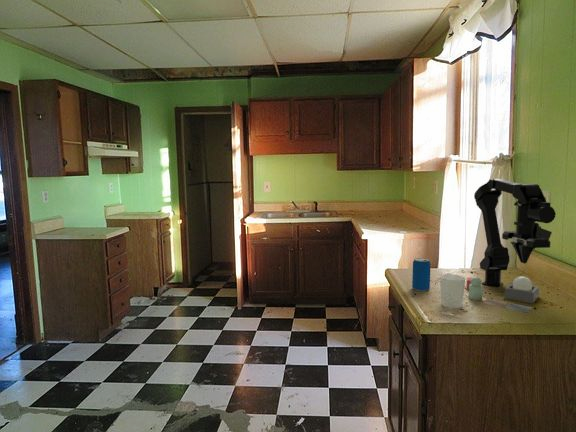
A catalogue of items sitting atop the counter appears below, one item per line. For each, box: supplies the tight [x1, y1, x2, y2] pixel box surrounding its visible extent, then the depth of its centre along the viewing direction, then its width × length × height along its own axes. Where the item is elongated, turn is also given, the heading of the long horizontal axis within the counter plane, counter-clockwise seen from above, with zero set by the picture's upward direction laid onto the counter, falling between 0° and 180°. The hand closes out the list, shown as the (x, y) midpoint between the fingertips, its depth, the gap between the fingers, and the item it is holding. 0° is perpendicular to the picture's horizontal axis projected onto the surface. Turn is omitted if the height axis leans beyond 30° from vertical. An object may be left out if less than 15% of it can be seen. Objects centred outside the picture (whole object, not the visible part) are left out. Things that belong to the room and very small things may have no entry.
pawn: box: [468, 276, 484, 302], centre depth 147 cm, size 4×4×8 cm
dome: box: [512, 275, 533, 292], centre depth 149 cm, size 6×6×6 cm
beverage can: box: [411, 257, 432, 292], centre depth 160 cm, size 6×6×12 cm
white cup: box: [439, 273, 466, 309], centre depth 142 cm, size 8×8×10 cm
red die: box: [466, 277, 473, 291], centre depth 160 cm, size 4×4×4 cm
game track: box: [463, 295, 533, 313], centre depth 143 cm, size 6×20×1 cm, turn 49°
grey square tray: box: [504, 282, 540, 304], centre depth 149 cm, size 9×9×4 cm
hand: (523, 262), depth 148 cm, fingers closed
